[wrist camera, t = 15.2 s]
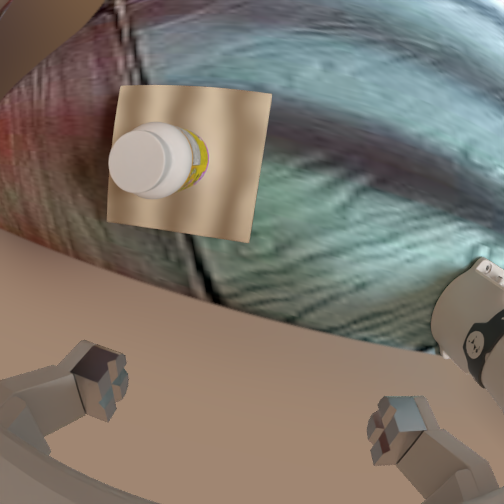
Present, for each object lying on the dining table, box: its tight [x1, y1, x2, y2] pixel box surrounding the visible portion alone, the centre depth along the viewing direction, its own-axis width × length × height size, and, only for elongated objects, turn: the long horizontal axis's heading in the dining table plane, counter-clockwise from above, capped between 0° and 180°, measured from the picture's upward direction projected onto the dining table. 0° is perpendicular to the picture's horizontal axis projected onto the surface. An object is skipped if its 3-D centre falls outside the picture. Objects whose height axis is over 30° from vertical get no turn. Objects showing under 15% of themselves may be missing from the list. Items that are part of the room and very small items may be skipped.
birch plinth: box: [107, 85, 272, 243], centre depth 34 cm, size 18×17×4 cm
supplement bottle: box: [108, 122, 209, 199], centre depth 26 cm, size 7×7×13 cm
